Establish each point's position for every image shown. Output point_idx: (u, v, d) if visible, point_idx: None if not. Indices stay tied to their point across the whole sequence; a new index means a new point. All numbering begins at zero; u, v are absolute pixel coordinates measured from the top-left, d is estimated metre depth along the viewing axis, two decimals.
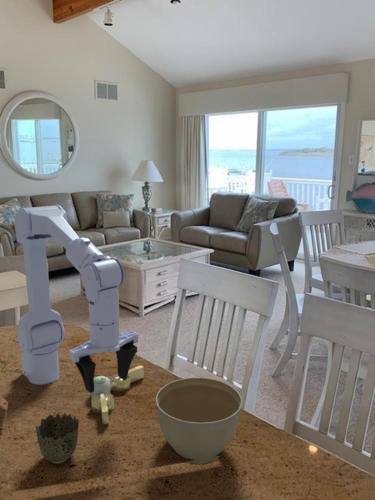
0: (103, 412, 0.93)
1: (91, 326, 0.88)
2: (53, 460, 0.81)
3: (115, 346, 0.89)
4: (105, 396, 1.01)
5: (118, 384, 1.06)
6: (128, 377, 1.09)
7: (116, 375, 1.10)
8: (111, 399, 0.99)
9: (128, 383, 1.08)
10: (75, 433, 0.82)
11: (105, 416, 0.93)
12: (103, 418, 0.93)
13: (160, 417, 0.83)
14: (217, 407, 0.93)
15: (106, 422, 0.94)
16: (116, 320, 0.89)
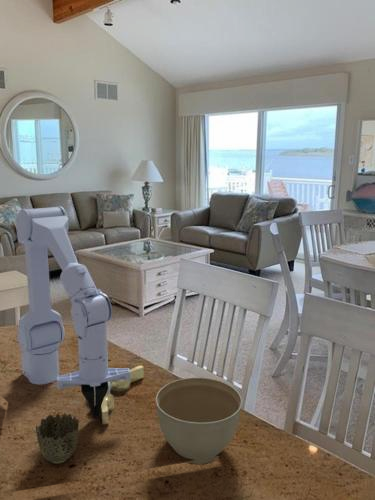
0: (103, 412, 0.93)
1: None
2: (53, 460, 0.81)
3: (96, 381, 0.91)
4: (105, 396, 1.01)
5: (118, 384, 1.06)
6: None
7: None
8: (111, 399, 0.99)
9: (128, 383, 1.08)
10: (75, 433, 0.82)
11: (105, 416, 0.93)
12: (103, 418, 0.93)
13: (160, 417, 0.83)
14: (217, 407, 0.93)
15: (106, 422, 0.94)
16: (104, 354, 0.91)
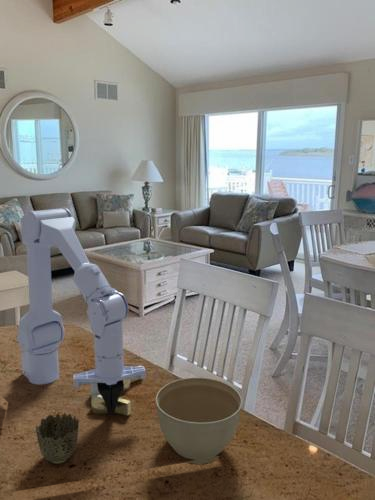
0: (127, 403, 0.97)
1: (95, 356, 0.93)
2: (53, 460, 0.81)
3: (112, 379, 0.91)
4: (101, 396, 1.01)
5: None
6: None
7: None
8: None
9: (128, 383, 1.08)
10: (75, 433, 0.82)
11: (129, 406, 0.97)
12: (128, 409, 0.97)
13: (160, 417, 0.83)
14: (217, 407, 0.93)
15: (129, 412, 0.98)
16: (121, 352, 0.92)
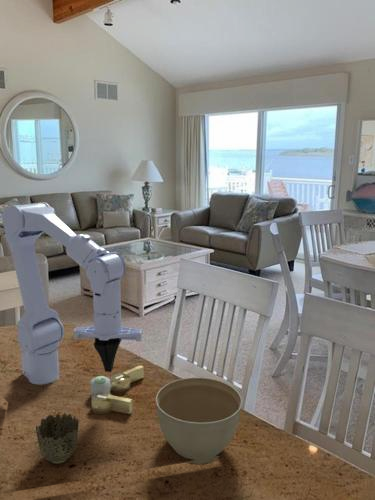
0: (129, 402, 0.97)
1: None
2: (53, 460, 0.81)
3: (105, 336, 0.95)
4: (101, 396, 1.01)
5: (118, 384, 1.06)
6: (128, 377, 1.09)
7: (116, 375, 1.10)
8: (110, 395, 1.01)
9: (128, 383, 1.08)
10: (75, 433, 0.82)
11: (130, 405, 0.98)
12: (129, 407, 0.97)
13: (160, 417, 0.83)
14: (217, 407, 0.93)
15: (131, 410, 0.98)
16: (119, 309, 0.97)
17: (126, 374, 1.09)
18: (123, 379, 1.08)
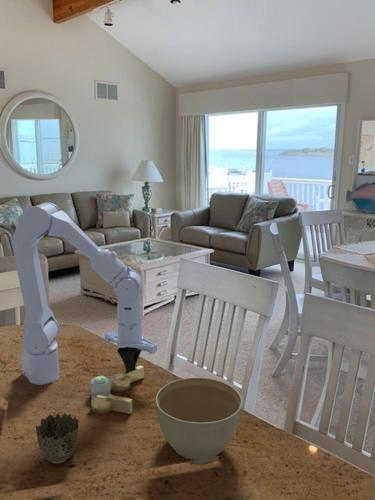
0: (129, 401, 0.97)
1: None
2: (53, 460, 0.81)
3: (122, 343, 1.08)
4: (101, 396, 1.01)
5: (118, 384, 1.06)
6: (128, 377, 1.09)
7: (116, 375, 1.10)
8: (110, 395, 1.01)
9: (128, 383, 1.08)
10: (75, 433, 0.82)
11: (130, 405, 0.98)
12: (130, 407, 0.97)
13: (160, 417, 0.83)
14: (217, 407, 0.93)
15: (131, 410, 0.98)
16: None
17: (126, 374, 1.09)
18: (123, 379, 1.08)
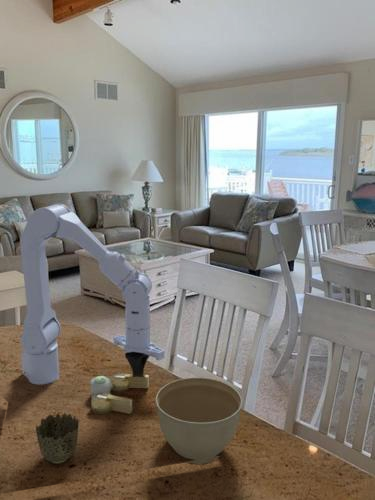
0: (129, 401, 0.97)
1: None
2: (53, 460, 0.81)
3: (129, 348, 1.06)
4: (101, 396, 1.01)
5: (111, 382, 1.07)
6: (125, 380, 1.08)
7: (122, 374, 1.10)
8: (110, 395, 1.01)
9: (121, 386, 1.07)
10: (75, 433, 0.82)
11: (130, 405, 0.98)
12: (130, 407, 0.97)
13: (160, 417, 0.83)
14: (217, 407, 0.93)
15: (131, 410, 0.98)
16: None
17: (125, 377, 1.08)
18: (119, 380, 1.08)
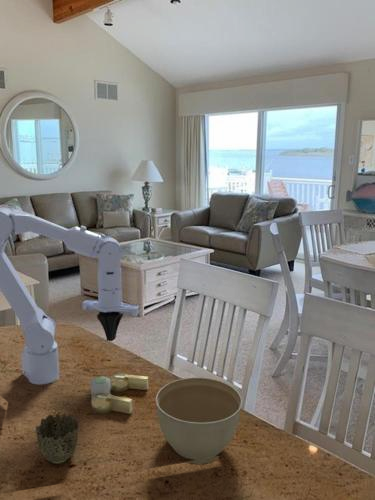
0: (129, 401, 0.97)
1: None
2: (53, 460, 0.81)
3: (105, 308, 1.10)
4: (101, 396, 1.01)
5: (110, 381, 1.08)
6: (125, 381, 1.07)
7: (123, 375, 1.10)
8: (110, 395, 1.01)
9: (119, 386, 1.07)
10: (75, 433, 0.82)
11: (130, 405, 0.98)
12: (130, 407, 0.97)
13: (160, 417, 0.83)
14: (217, 407, 0.93)
15: (131, 410, 0.98)
16: None
17: (125, 377, 1.08)
18: (119, 380, 1.08)
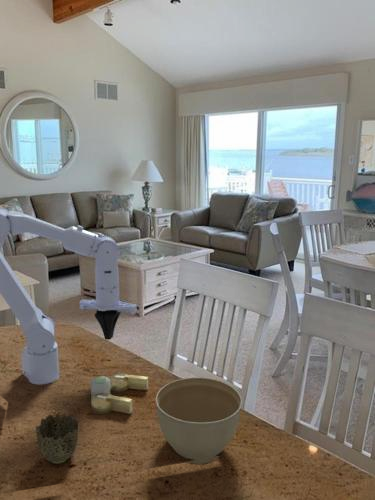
0: (129, 401, 0.97)
1: None
2: (53, 460, 0.81)
3: (103, 307, 1.11)
4: (101, 396, 1.01)
5: (110, 381, 1.08)
6: (125, 381, 1.07)
7: (123, 375, 1.10)
8: (110, 395, 1.01)
9: (119, 386, 1.07)
10: (75, 433, 0.82)
11: (130, 405, 0.98)
12: (130, 407, 0.97)
13: (160, 417, 0.83)
14: (217, 407, 0.93)
15: (131, 410, 0.98)
16: None
17: (125, 377, 1.08)
18: (119, 380, 1.08)
